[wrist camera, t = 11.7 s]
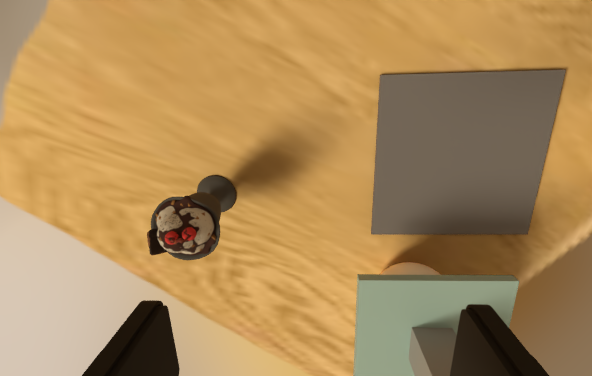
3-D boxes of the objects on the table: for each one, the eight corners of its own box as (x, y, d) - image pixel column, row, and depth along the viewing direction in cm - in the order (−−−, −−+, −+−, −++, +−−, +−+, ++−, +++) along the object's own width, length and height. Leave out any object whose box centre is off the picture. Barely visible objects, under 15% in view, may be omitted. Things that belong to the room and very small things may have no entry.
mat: (380, 75, 34) (380, 75, 33) (563, 69, 33) (565, 69, 32) (371, 232, 40) (371, 234, 39) (525, 232, 39) (527, 234, 38)
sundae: (247, 175, 38) (208, 230, 24) (237, 223, 40) (195, 299, 26) (195, 161, 38) (124, 208, 24) (187, 210, 40) (118, 280, 26)
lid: (357, 274, 31) (372, 335, 23) (512, 275, 30) (580, 338, 23) (353, 387, 36) (364, 469, 28) (487, 391, 35) (537, 475, 27)
